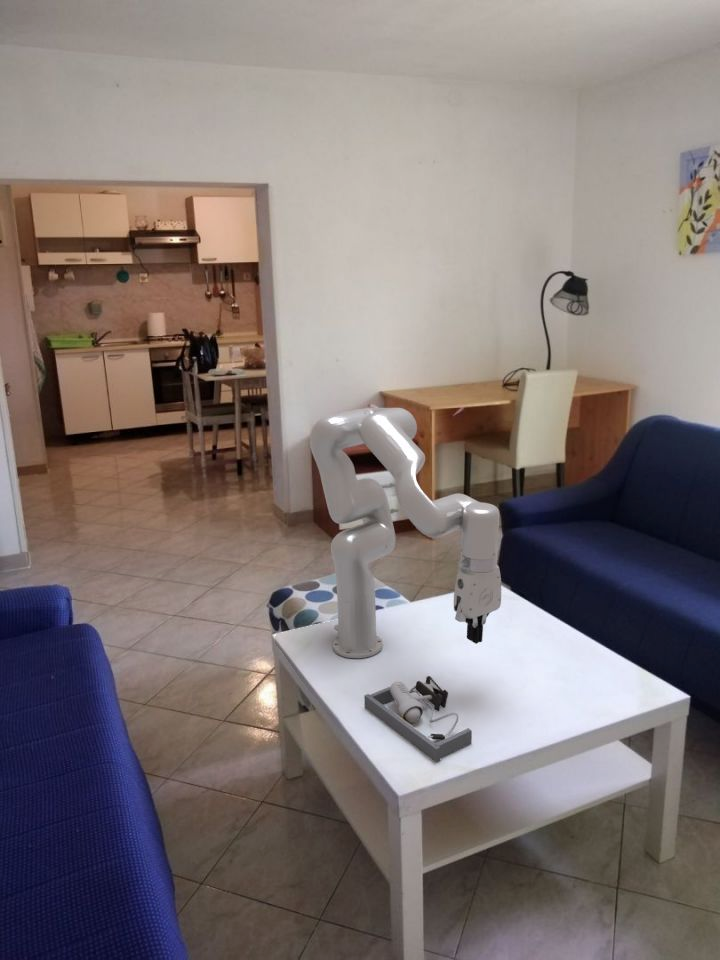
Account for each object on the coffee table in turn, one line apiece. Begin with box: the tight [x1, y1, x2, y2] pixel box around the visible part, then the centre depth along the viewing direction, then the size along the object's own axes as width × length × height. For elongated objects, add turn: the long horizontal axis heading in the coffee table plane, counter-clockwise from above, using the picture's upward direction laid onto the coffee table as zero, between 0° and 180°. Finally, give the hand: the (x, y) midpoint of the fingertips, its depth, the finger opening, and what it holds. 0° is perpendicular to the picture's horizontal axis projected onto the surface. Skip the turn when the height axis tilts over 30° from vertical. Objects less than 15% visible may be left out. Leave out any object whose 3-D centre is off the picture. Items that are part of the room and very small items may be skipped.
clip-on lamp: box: [389, 675, 459, 741], centre depth 153 cm, size 12×6×18 cm
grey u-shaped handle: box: [363, 686, 473, 764], centre depth 151 cm, size 24×10×3 cm, turn 34°
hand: (474, 640), depth 158 cm, fingers closed
